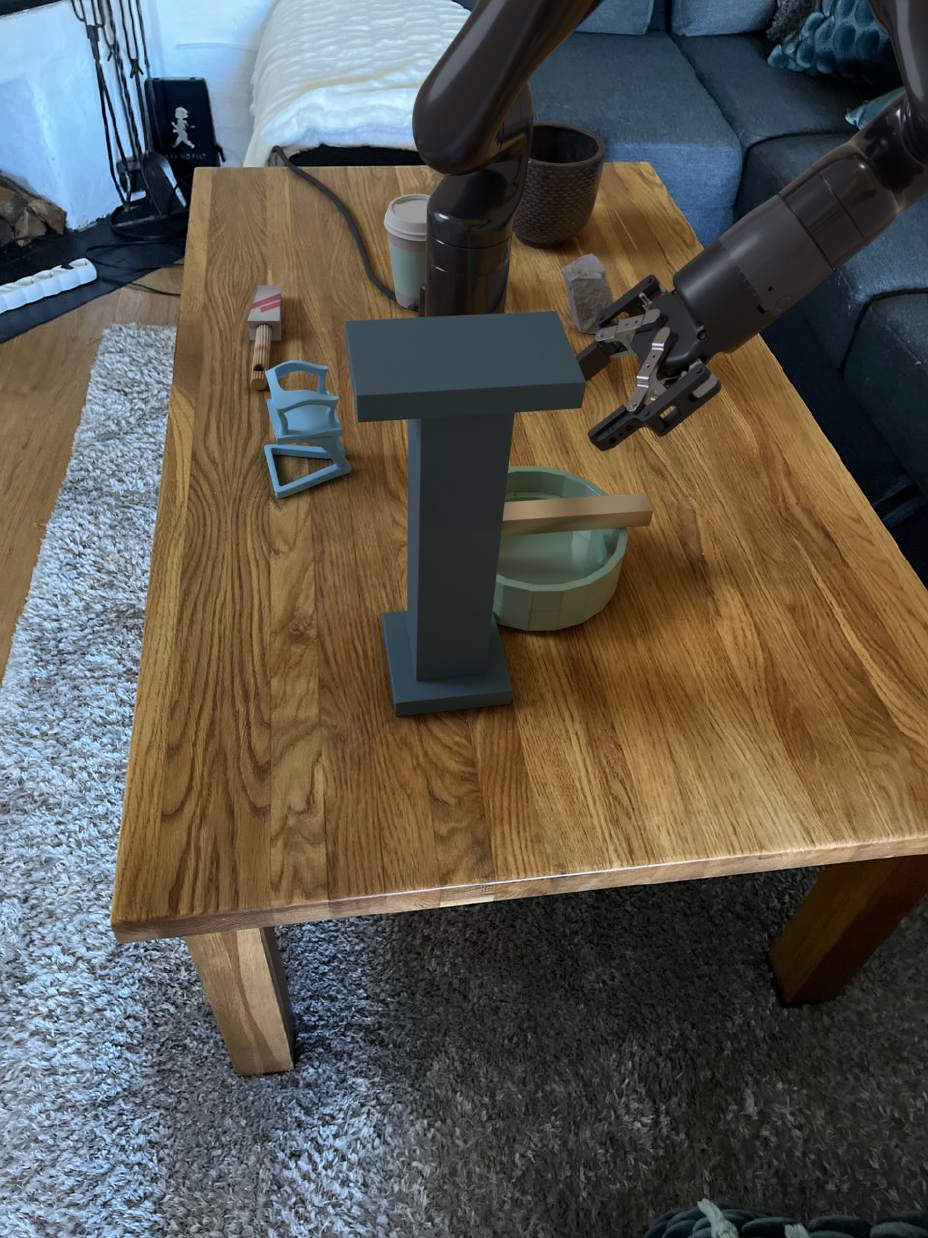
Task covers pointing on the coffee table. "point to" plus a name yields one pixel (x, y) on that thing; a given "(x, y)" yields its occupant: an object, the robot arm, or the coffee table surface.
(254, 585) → the coffee table surface
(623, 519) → the wooden mallet
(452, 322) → the lectern stand
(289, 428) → the chair
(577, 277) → the mineral specimen
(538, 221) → the planter
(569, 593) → the bowl
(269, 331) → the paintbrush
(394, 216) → the coffee cup
